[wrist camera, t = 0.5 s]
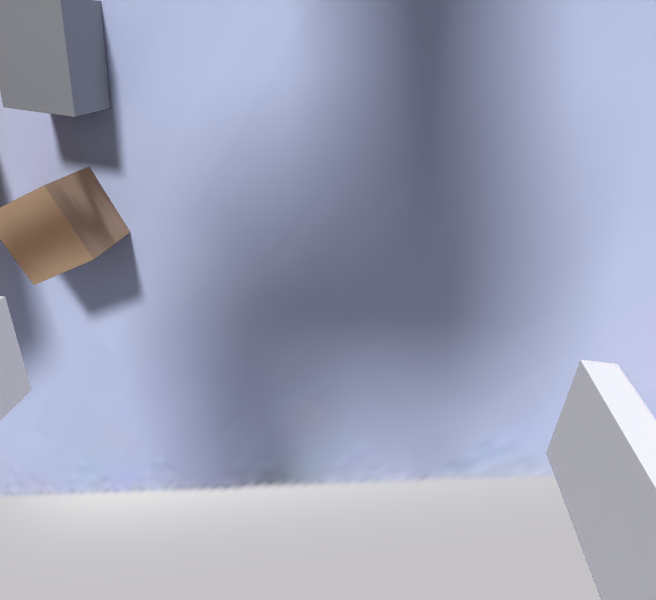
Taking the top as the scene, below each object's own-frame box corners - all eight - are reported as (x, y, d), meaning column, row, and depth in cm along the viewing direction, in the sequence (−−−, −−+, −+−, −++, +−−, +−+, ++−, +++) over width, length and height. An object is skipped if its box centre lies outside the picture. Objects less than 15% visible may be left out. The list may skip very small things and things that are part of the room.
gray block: (32, -8, 35) (-20, -15, 30) (101, 1, 35) (59, -5, 30) (48, 99, 38) (3, 107, 34) (111, 107, 38) (74, 116, 33)
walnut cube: (34, 193, 42) (-18, 216, 37) (89, 166, 40) (44, 185, 35) (76, 255, 44) (33, 285, 39) (130, 232, 42) (94, 259, 37)
